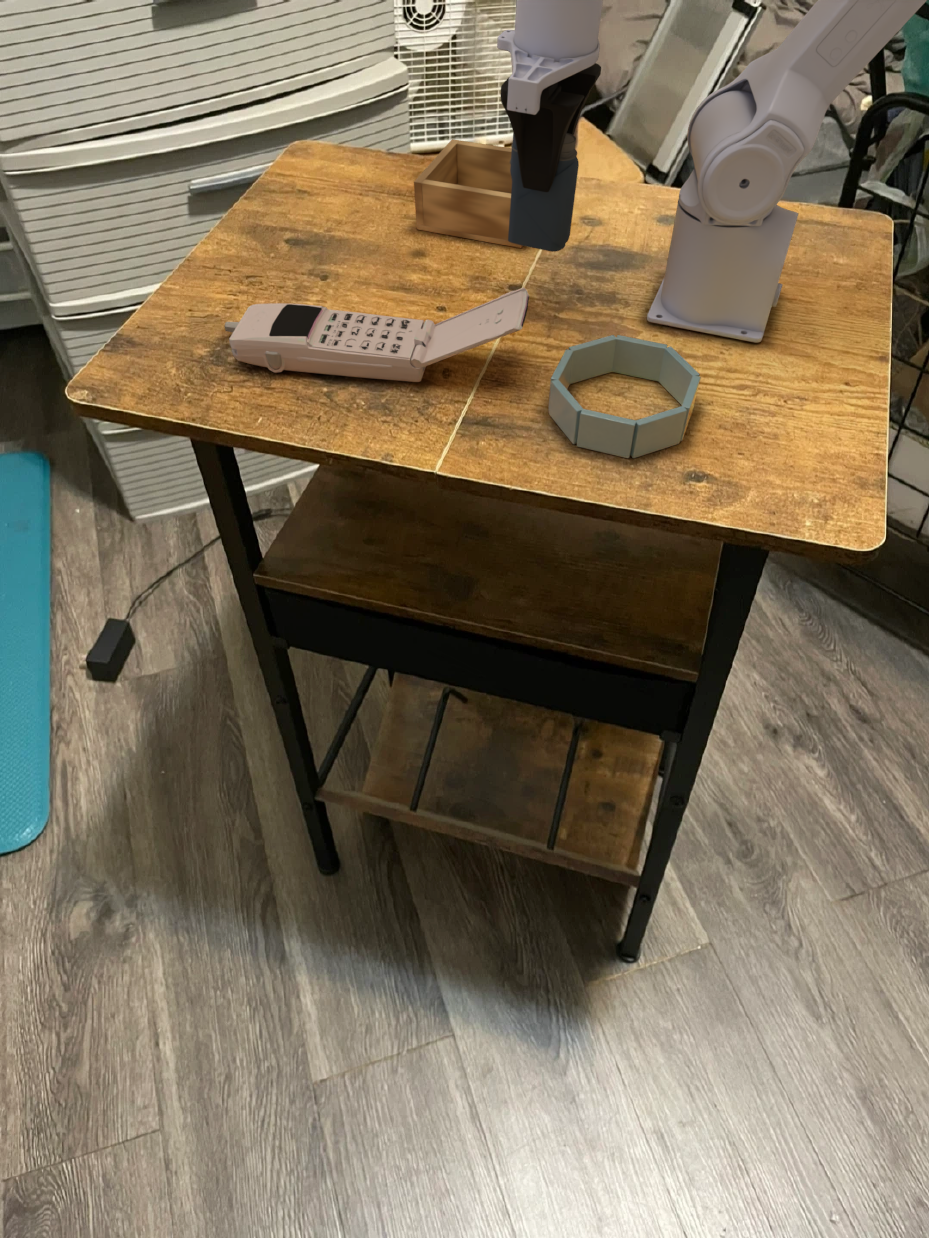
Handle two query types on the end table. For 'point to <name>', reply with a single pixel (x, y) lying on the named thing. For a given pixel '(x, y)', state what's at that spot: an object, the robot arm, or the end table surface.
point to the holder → (466, 193)
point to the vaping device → (544, 203)
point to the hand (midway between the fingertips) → (542, 179)
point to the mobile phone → (366, 338)
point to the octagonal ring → (613, 430)
